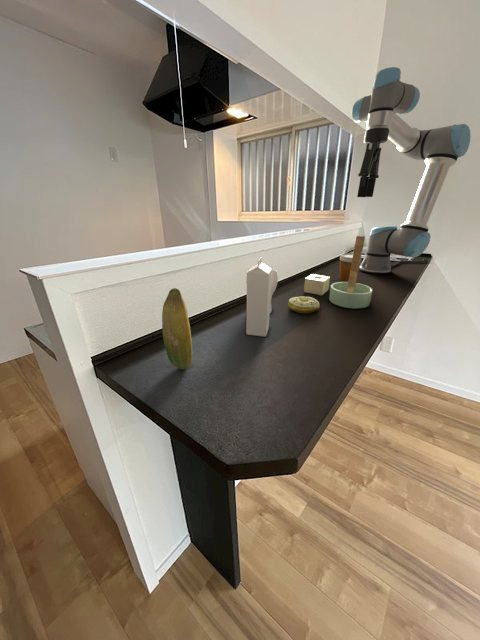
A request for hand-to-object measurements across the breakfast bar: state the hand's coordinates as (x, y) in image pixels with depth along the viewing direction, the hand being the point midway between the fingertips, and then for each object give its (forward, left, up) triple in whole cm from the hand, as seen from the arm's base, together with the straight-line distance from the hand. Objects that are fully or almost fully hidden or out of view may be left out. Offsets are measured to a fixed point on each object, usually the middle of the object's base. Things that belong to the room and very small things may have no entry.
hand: (365, 197), depth 100 cm
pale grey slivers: (+42, -20, -37) cm, 59 cm away
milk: (+56, -13, -37) cm, 68 cm away
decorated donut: (+32, -8, -37) cm, 49 cm away
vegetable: (+83, -18, -37) cm, 93 cm away
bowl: (+16, +4, -37) cm, 40 cm away
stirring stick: (+16, +4, -36) cm, 40 cm away
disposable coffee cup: (-13, -4, -37) cm, 39 cm away
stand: (+10, -11, -37) cm, 40 cm away
